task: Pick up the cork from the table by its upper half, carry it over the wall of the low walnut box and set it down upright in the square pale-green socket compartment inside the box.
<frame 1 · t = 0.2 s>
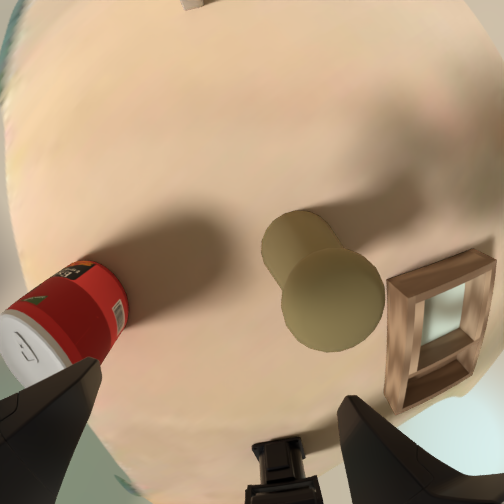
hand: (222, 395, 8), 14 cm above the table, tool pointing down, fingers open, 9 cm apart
canned food: (96, 296, 23), on the table
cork: (298, 247, 22), on the table
socket box: (431, 327, 25), on the table
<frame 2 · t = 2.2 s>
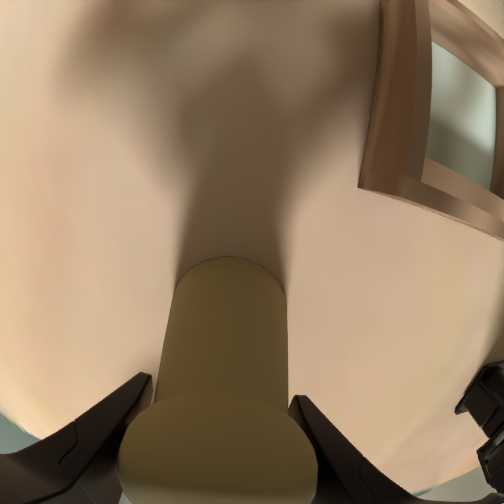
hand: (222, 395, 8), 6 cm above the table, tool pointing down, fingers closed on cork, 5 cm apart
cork: (229, 309, 14), on the table, touching gripper
socket box: (476, 134, 11), on the table
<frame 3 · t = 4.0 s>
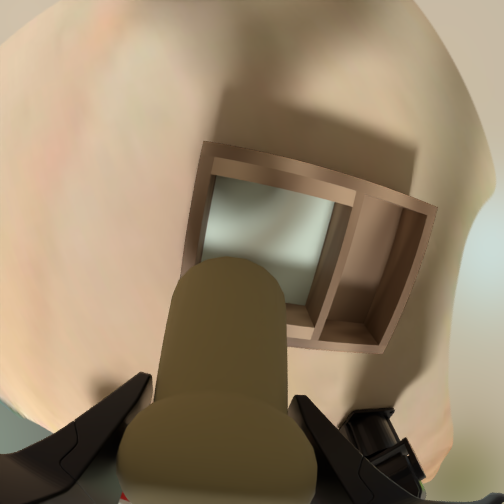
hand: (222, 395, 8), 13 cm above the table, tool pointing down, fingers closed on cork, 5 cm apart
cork: (228, 309, 14), point 7 cm above the table, touching gripper
socket box: (302, 249, 20), on the table
when the fingers open (8 cm above the table, at t = 5.9 s): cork drops 1 cm, resting on socket box.
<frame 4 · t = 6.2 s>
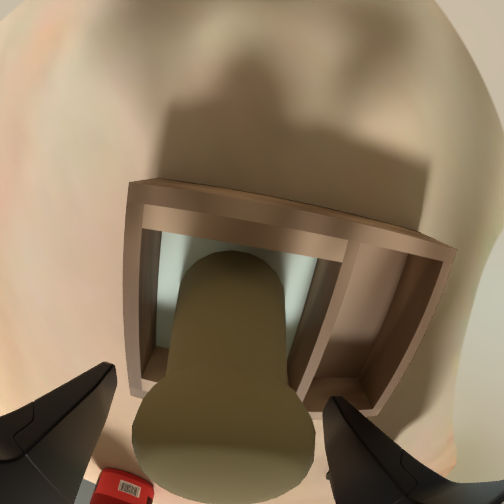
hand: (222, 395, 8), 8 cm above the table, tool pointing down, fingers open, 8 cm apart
canned food: (128, 479, 25), on the table
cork: (231, 300, 15), point 1 cm above the table, touching socket box
socket box: (280, 302, 16), on the table
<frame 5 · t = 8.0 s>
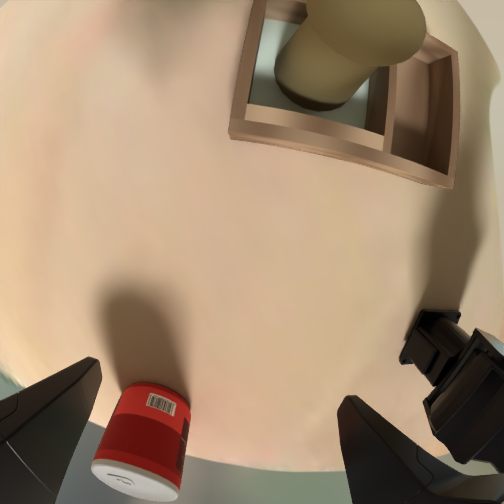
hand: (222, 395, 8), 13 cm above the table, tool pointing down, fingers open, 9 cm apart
canned food: (156, 403, 25), on the table
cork: (315, 74, 16), point 1 cm above the table, touching socket box
socket box: (349, 86, 17), on the table
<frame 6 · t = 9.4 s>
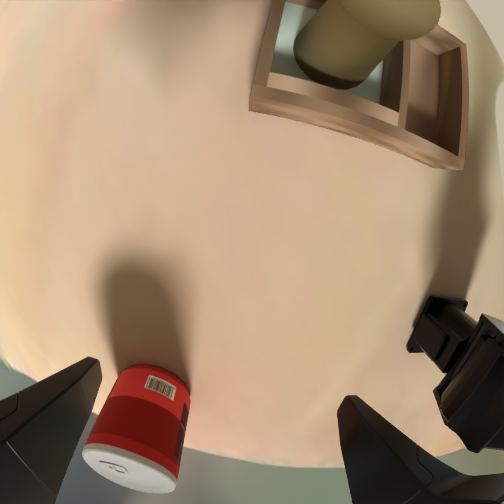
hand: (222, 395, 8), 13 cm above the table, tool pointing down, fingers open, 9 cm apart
canned food: (154, 388, 25), on the table
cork: (332, 55, 16), point 1 cm above the table, touching socket box
socket box: (364, 69, 16), on the table
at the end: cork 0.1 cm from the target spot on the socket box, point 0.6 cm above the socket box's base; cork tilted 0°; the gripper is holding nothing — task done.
